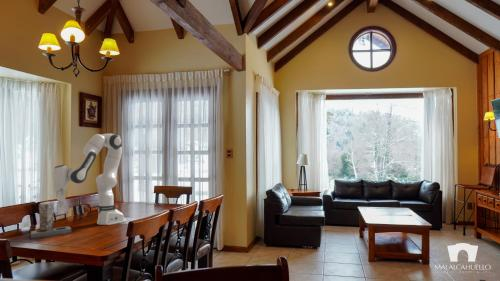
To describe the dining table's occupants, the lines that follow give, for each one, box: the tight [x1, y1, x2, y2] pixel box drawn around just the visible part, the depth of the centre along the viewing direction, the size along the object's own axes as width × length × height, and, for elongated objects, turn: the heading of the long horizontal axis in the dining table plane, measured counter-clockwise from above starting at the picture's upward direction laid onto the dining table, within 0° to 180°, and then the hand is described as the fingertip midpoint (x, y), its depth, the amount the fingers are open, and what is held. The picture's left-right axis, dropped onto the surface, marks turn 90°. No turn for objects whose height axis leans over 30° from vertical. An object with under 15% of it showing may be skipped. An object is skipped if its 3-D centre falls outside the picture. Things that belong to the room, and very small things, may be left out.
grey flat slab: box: [30, 225, 72, 239], centre depth 247 cm, size 24×10×3 cm, turn 125°
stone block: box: [38, 201, 55, 230], centre depth 263 cm, size 13×7×20 cm, turn 14°
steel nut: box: [56, 201, 66, 215], centre depth 251 cm, size 4×4×8 cm
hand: (61, 207), depth 251 cm, fingers closed on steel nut, 4 cm apart
